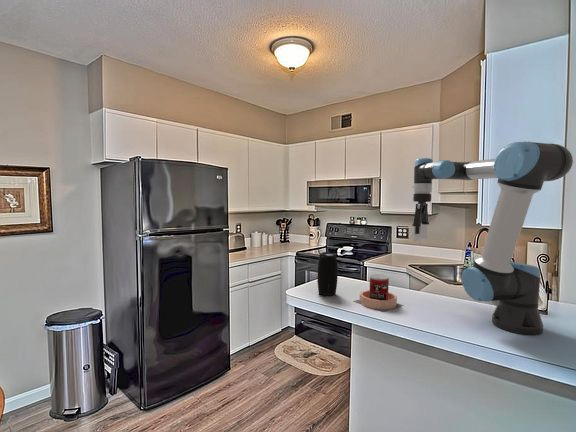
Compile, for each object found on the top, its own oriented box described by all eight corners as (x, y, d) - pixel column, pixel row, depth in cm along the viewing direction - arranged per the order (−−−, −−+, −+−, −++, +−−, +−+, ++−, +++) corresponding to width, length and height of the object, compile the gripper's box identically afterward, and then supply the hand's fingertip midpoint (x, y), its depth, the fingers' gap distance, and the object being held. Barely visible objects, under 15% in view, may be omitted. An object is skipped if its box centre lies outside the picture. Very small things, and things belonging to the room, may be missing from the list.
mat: (404, 306, 138) (404, 305, 138) (383, 313, 129) (383, 312, 129) (373, 296, 150) (373, 295, 150) (352, 302, 142) (352, 301, 142)
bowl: (403, 304, 138) (404, 296, 138) (381, 311, 129) (381, 303, 129) (375, 295, 150) (375, 288, 150) (352, 301, 141) (353, 293, 141)
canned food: (367, 303, 138) (368, 277, 137) (371, 298, 145) (372, 273, 144) (385, 306, 135) (386, 279, 134) (389, 300, 142) (390, 275, 141)
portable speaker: (320, 291, 158) (321, 251, 157) (339, 293, 154) (340, 252, 153) (314, 296, 150) (315, 253, 149) (334, 298, 146) (335, 255, 145)
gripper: (419, 193, 161) (417, 236, 162) (407, 192, 140) (405, 241, 141) (436, 193, 156) (434, 237, 158) (425, 192, 136) (423, 243, 137)
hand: (420, 239), depth 149 cm, fingers open, 13 cm apart
